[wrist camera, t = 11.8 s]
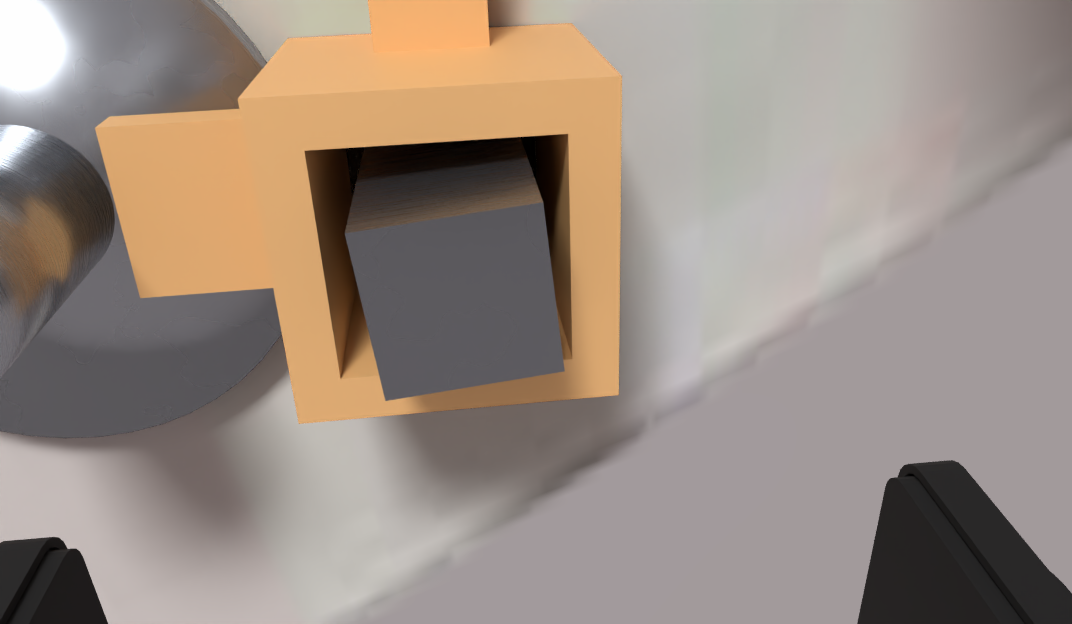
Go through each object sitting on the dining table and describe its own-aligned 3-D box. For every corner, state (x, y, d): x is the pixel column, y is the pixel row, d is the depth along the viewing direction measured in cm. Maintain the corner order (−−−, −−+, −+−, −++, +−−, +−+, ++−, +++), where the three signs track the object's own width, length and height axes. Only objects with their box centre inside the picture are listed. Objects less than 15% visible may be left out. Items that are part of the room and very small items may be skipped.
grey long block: (504, 90, 26) (543, 202, 18) (521, 214, 28) (564, 371, 19) (372, 111, 26) (344, 232, 17) (398, 233, 28) (385, 401, 19)
